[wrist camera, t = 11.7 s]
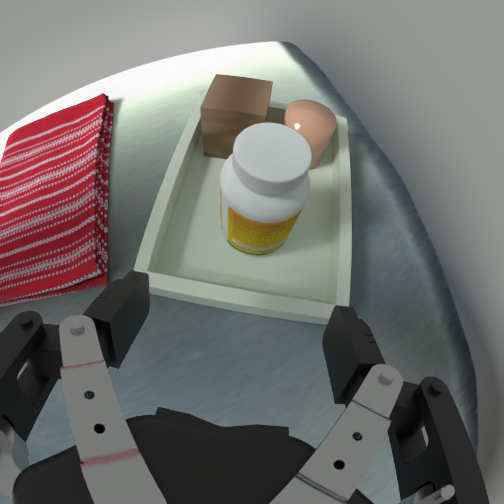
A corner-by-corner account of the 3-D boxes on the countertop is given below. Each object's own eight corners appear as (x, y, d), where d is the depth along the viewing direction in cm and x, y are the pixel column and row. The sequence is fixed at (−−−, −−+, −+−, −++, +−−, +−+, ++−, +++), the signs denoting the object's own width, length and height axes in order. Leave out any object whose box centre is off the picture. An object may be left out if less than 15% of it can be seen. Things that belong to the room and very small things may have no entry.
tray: (142, 291, 21) (130, 282, 18) (203, 112, 28) (202, 91, 25) (332, 325, 21) (347, 320, 18) (337, 137, 28) (346, 118, 25)
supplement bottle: (209, 212, 23) (202, 129, 13) (268, 188, 24) (289, 104, 15) (240, 271, 21) (249, 210, 12) (300, 242, 22) (344, 172, 13)
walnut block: (203, 156, 25) (200, 107, 19) (216, 120, 26) (216, 74, 21) (257, 164, 25) (265, 116, 19) (264, 128, 27) (272, 81, 21)
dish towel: (116, 103, 29) (112, 87, 26) (116, 286, 21) (103, 277, 19) (13, 143, 26) (5, 131, 24) (-14, 312, 18) (-30, 306, 16)
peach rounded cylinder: (274, 165, 25) (284, 126, 20) (278, 132, 26) (287, 95, 22) (321, 174, 25) (338, 139, 20) (321, 141, 27) (335, 106, 22)
